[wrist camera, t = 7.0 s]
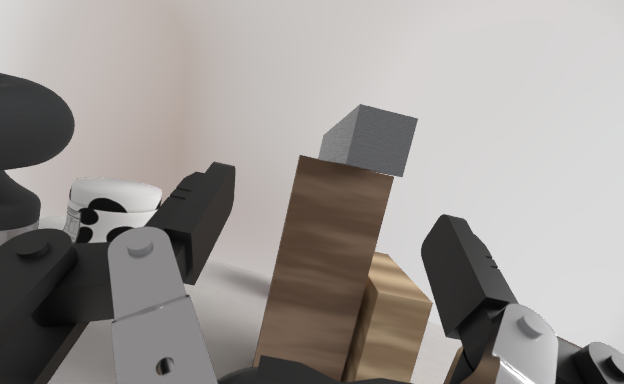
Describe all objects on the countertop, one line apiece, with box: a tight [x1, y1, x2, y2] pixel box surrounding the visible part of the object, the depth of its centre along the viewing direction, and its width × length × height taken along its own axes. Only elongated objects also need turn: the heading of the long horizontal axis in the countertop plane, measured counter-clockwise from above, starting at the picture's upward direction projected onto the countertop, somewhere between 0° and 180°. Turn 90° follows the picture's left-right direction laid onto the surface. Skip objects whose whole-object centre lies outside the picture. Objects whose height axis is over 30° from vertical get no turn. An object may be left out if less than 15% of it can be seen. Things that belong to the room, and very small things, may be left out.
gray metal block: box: [318, 104, 418, 177], centre depth 32 cm, size 26×4×4 cm, turn 3°
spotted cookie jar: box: [63, 177, 162, 244], centre depth 58 cm, size 17×17×18 cm
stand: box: [253, 155, 433, 383], centre depth 37 cm, size 15×17×32 cm
